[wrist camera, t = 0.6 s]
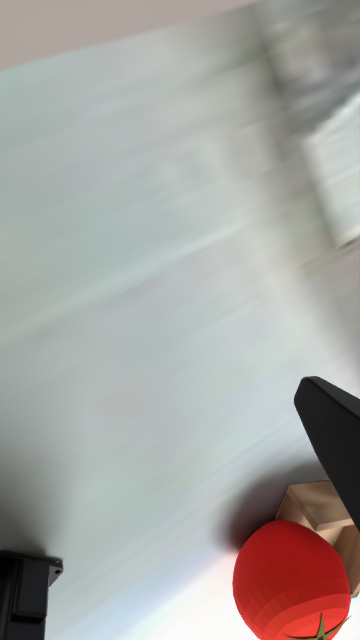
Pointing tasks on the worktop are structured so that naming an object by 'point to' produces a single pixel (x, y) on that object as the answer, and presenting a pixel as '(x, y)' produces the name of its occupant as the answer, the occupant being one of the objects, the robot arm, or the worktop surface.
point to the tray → (325, 522)
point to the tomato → (290, 584)
